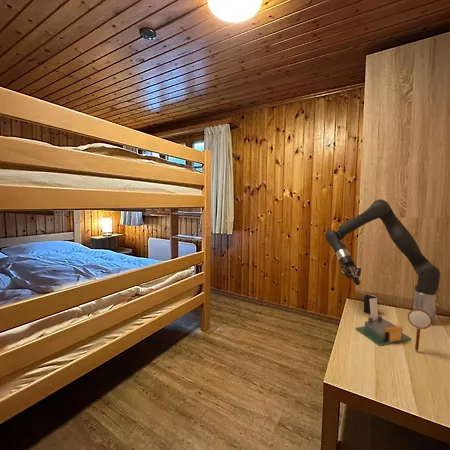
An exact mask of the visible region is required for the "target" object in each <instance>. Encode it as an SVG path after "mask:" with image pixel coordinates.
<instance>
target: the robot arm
mask: <svg viewBox="0 0 450 450" xmlns="http://www.w3.org/2000/svg"><path fill="white" fill-rule="evenodd" d="M377 219H380V220H381V222H382V224H383V225H384V227H385V229H386V231H387V233H388V236H389V237H390V239H391V240H392V242H393V243H394V245H395V246H396V247H397V249H398V250H399V251H400V252H401V253H402V254H403V255H404V256H405V257H406V258H407V260H408V261H409V263H410V265H411V266H412V267H413V269H414V271H415V273H416V274H417V283H416V284H415V287H414V294H413V295H414V299H413V308H412V310H415V309H419V310H423V311H425V312H427V313H428V314H429V315H430V317H431V319H432V324H431V326H433V324H434V323H435V320H436V318H435V317H436V309H437V307H436V298H437V292H438V290H439V286H440V277H441V272H440V269H438V267H436V266H435V265H434V264H433V263H431V261H429V260H428V258H426V256H425V255H424V254H423V252H422V251H421V249H420V247H419V245H418V243H417V241H416V240H415V238H414V237H413V235H412V233H411V232H410V231H409V230H408V229H407V228H406V226H405V225H404V224H403V223H402V221H400V219H399V218H398V217H397V216H396V214H395V213H394V211H393V209H392V207H391V205H390V203H389V202H388V201H386V200H384V199H381V198H380V199H376V200H375V201H373V202H372V203H371V205H370V206H369V207H368V208H367V209H365V210H364V211H363V212H362V213H359V214H358V215H356V216H354V217H352V218H351V219H348V220H347V221H345V222H344V223H342V224H340V225H339V226H338V230H333V229H328V230H327V231H326V232H325V233H324V234H325V235H324V236H325V240H326V241H327V242H328V244H329V246H330V247H332V249H333V252H334V253H335V255H336V258H337V260H338V262H339V265H340V267H342V270H341V271H340V273H341V274H342V275H343V276H344V277H346V278H348V279H350V280H352V281H353V283H354V285H356V286H358V285H360V284H361V280H360V279H359V277H361V274H362V273H361V272H362V268H361V267H358V266H357V265H356V264H355V261H354V259H353V256H352V255H351V253H350V252H349V251H348V248H347V247H346V246H345V244H344V242H342V240H343V239H344V238H346V237H347V235H349V234H351V233H353V232H354V231H356V230H358V229H359V228H360V227H362V226H364V225H366V224H367V223H368V224H369V223H370V222H372V221H375V220H377Z"/></svg>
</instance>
